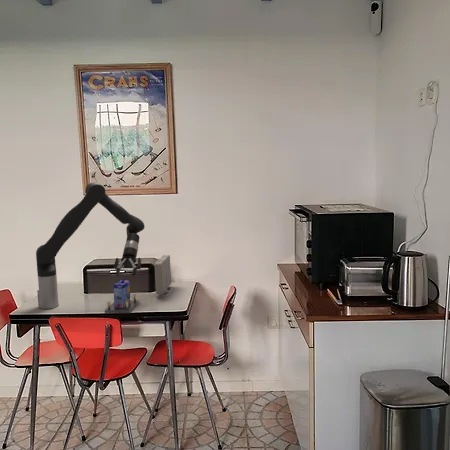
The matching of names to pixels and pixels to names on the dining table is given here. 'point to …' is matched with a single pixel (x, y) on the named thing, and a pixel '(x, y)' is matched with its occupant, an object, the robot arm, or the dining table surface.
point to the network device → (163, 276)
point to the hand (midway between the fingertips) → (125, 275)
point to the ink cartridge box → (121, 293)
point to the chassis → (126, 309)
